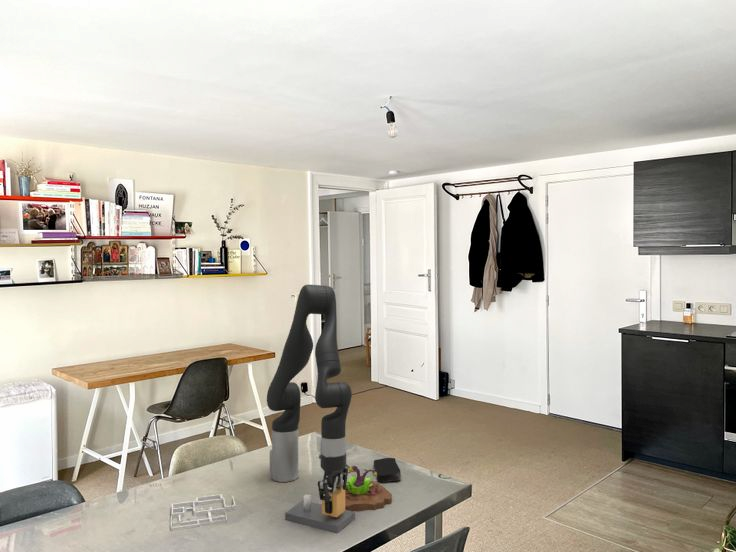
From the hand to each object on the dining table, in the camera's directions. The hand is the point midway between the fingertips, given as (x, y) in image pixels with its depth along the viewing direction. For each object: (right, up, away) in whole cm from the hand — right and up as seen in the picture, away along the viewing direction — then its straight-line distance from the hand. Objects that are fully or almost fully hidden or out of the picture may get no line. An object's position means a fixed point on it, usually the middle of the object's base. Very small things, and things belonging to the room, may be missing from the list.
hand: (333, 509), depth 165 cm
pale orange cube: (0, -1, 0) cm, 1 cm away
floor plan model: (-41, -4, +10) cm, 42 cm away
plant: (+7, -4, +17) cm, 19 cm away
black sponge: (+17, -4, +38) cm, 41 cm away
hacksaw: (+1, -3, +47) cm, 47 cm away
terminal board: (-4, -4, +2) cm, 6 cm away
